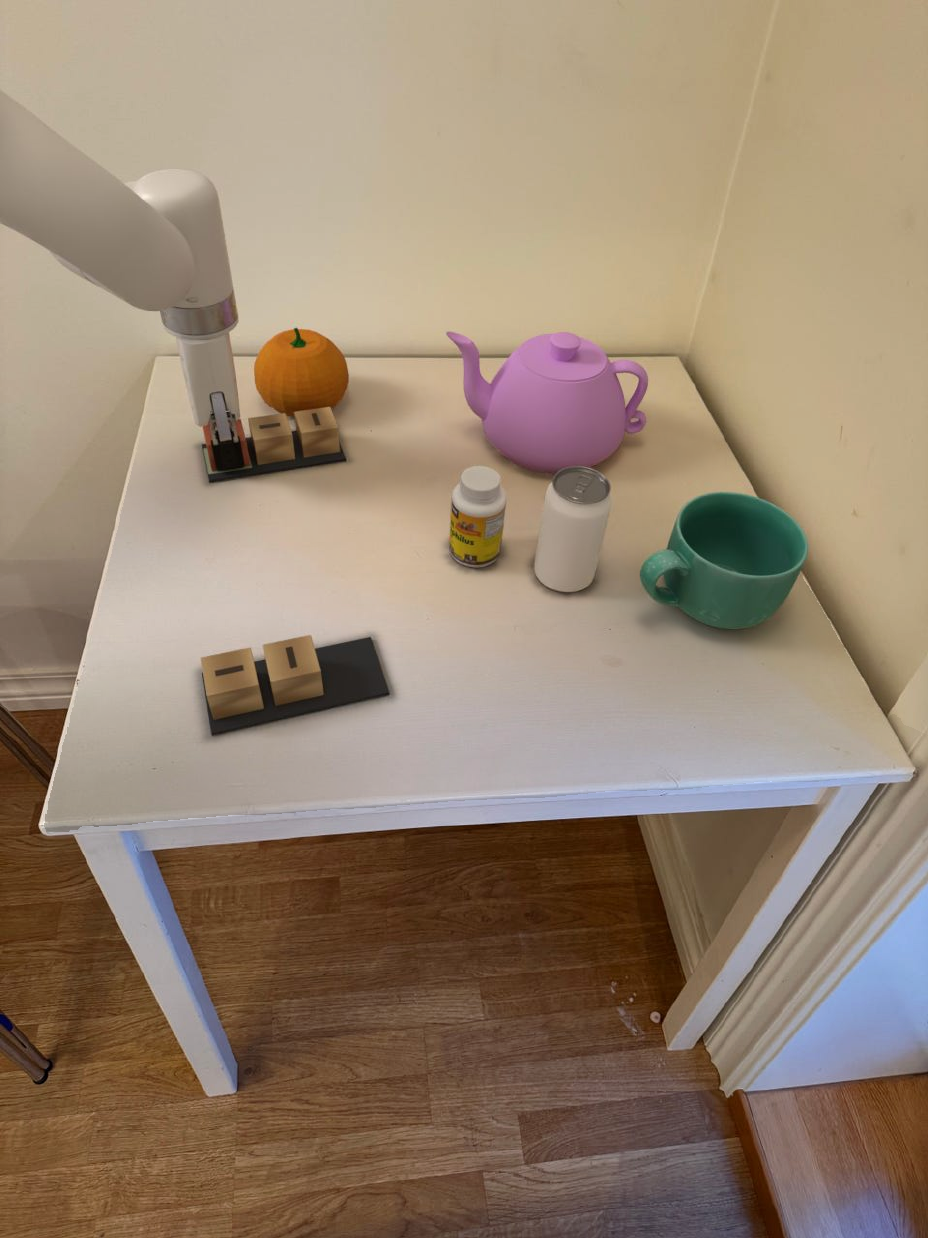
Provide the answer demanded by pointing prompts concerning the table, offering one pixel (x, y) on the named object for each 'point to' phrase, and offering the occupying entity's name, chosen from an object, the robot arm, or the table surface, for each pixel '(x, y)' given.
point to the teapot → (553, 401)
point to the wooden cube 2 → (293, 670)
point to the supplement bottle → (477, 517)
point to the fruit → (300, 372)
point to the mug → (728, 560)
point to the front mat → (344, 680)
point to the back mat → (271, 467)
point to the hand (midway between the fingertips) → (227, 453)
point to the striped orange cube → (239, 433)
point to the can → (572, 528)
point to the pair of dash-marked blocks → (277, 440)
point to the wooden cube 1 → (231, 683)
